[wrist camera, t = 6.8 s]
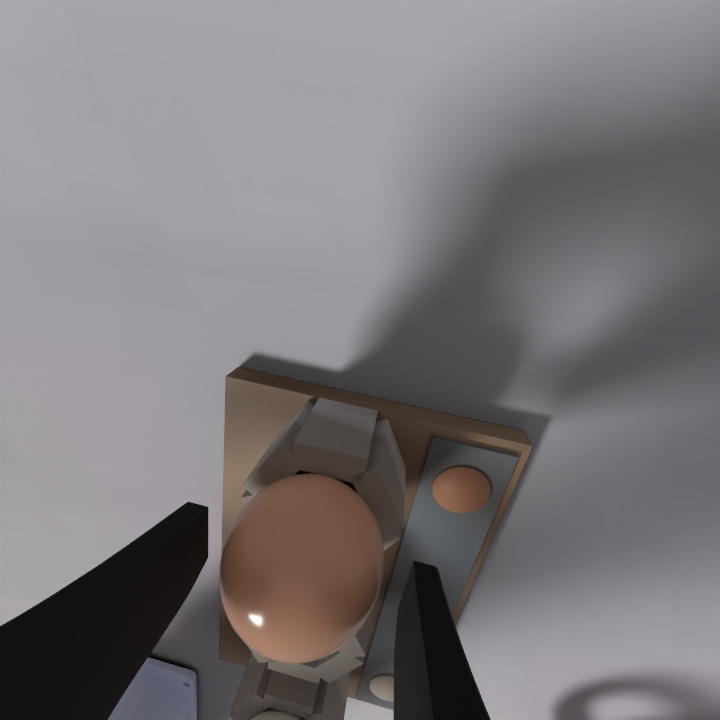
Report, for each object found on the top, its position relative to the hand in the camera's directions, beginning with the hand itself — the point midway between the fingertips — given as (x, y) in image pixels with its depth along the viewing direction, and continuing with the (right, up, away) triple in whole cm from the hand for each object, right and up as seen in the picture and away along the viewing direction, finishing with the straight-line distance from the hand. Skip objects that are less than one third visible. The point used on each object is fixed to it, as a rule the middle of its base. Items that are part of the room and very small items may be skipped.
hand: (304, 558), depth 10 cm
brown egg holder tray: (+1, -5, +8) cm, 9 cm away
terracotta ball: (0, 0, 0) cm, 0 cm away
